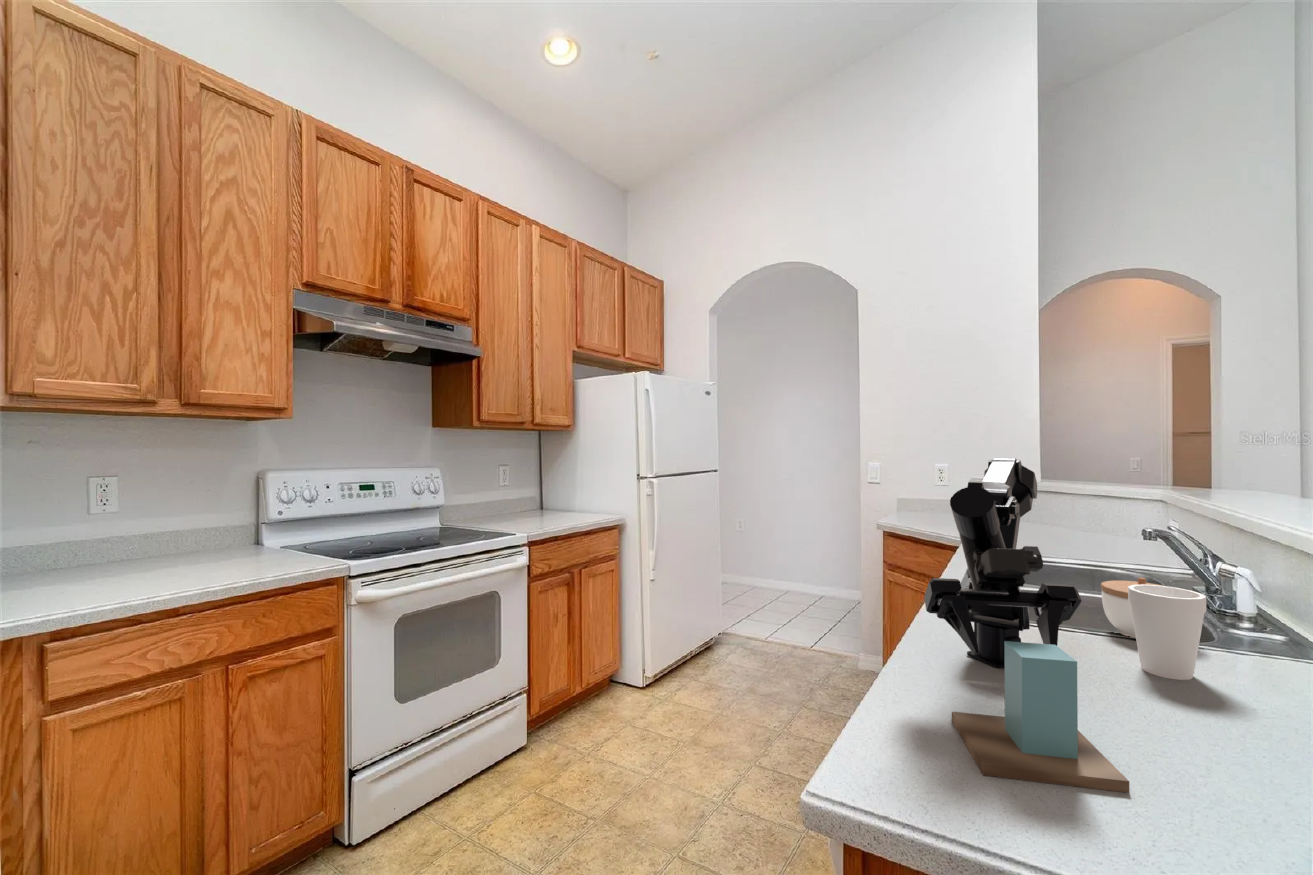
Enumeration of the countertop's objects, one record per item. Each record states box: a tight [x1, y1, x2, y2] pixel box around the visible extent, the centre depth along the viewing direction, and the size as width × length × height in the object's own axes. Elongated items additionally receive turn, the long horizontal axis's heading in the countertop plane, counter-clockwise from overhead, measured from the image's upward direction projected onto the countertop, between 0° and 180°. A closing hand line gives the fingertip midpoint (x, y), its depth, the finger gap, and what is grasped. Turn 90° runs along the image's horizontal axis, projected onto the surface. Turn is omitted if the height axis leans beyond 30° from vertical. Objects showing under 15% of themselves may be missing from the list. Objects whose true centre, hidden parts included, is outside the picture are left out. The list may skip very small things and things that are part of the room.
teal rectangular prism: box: [1004, 641, 1079, 759], centre depth 69 cm, size 6×6×11 cm
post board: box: [951, 711, 1130, 794], centre depth 69 cm, size 13×14×5 cm
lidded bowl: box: [1100, 577, 1164, 639], centre depth 111 cm, size 13×13×11 cm
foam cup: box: [1128, 584, 1207, 681], centre depth 93 cm, size 10×9×13 cm
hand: (1014, 656), depth 76 cm, fingers open, 9 cm apart
